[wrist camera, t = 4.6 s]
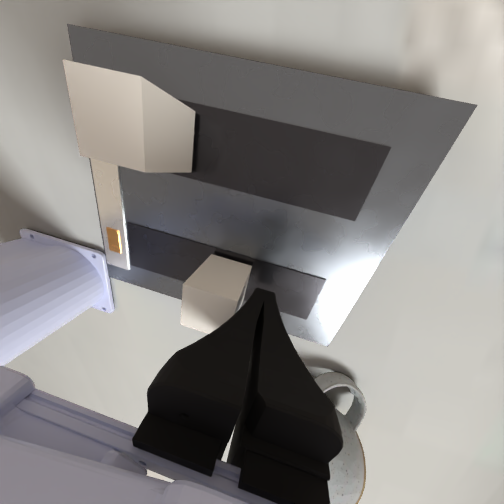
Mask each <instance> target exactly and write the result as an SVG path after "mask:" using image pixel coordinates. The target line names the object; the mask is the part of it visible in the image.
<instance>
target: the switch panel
mask: <svg viewBox="0 0 504 504" xmlns="http://www.w3.org/2000/svg"><path fill="white" fill-rule="evenodd" d="M67 26H68V32H69V38H70V44H71V50H72V56H73V62H77V63H82V64H87V65H91V66H96V67H100V68H105V69H110V70H114V71H119V72H124V73H128V74H133V75H137V76H142V77H143V78H145V79H146V80H148V81H149V82H151V83H152V84H154V85H155V86H157V87H159V88H160V89H162V90H163V91H165V92H166V93H168V94H169V95H171V96H172V97H174V98H176V99H177V100H179V101H180V102H182V103H183V104H185V105H186V106H188V107H189V108H191V109H193V110H194V111H195V124H194V140H193V156H192V172H182V173H145V172H141V171H137V170H134V169H130V168H126V167H122V166H118V165H115V164H111V163H107V162H103V161H99V160H96V159H92V158H89V160H90V166H91V172H92V178H93V184H94V190H95V196H96V202H97V208H98V215H99V221H100V227H101V233H102V239H103V245H104V251H105V257H106V263H107V269H108V276H109V277H112V278H115V279H118V280H121V281H124V282H128V283H131V284H134V285H137V286H140V287H143V288H146V289H149V290H152V291H156V292H159V293H162V294H165V295H168V296H171V297H174V298H177V299H181V300H182V289H183V283H184V282H185V281H186V280H187V279H188V278H189V277H190V276H191V275H192V274H193V273H194V272H195V271H196V270H197V269H198V268H199V267H200V266H201V265H202V264H203V263H204V261H205V260H206V259H207V258H208V257H209V256H210V255H211V254H213V255H216V256H220V257H223V258H226V259H230V260H233V261H237V262H240V263H243V264H247V265H250V266H252V268H251V272H250V276H249V280H248V284H247V288H246V292H245V295H244V299H243V302H242V305H241V307H242V306H243V305H244V304H245V303H246V301H247V300H248V299H249V298H250V296H251V295H252V293H253V292H254V290H255V288H257V287H258V288H261V289H264V290H268V291H271V292H274V293H275V295H276V301H277V305H278V309H279V312H280V315H281V318H282V321H283V324H284V326H285V329H286V331H287V333H288V334H290V335H293V336H296V337H299V338H302V339H306V340H309V341H312V342H315V343H318V344H321V345H324V346H327V347H328V345H329V344H330V342H331V341H332V339H333V337H334V336H335V334H336V333H337V331H338V329H339V328H340V326H341V324H342V323H343V321H344V320H345V318H346V316H347V315H348V313H349V312H350V310H351V308H352V307H353V305H354V303H355V302H356V300H357V299H358V297H359V295H360V294H361V292H362V291H363V289H364V287H365V286H366V284H367V282H368V281H369V279H370V278H371V276H372V274H373V273H374V271H375V270H376V268H377V266H378V265H379V263H380V262H381V260H382V258H383V257H384V255H385V253H386V252H387V250H388V249H389V247H390V245H391V244H392V242H393V241H394V239H395V237H396V236H397V234H398V232H399V231H400V229H401V228H402V226H403V224H404V223H405V221H406V220H407V218H408V216H409V215H410V213H411V211H412V210H413V208H414V207H415V205H416V203H417V202H418V200H419V199H420V197H421V195H422V194H423V192H424V191H425V189H426V187H427V186H428V184H429V182H430V181H431V179H432V178H433V176H434V174H435V173H436V171H437V170H438V168H439V166H440V165H441V163H442V161H443V160H444V158H445V157H446V155H447V153H448V152H449V150H450V149H451V147H452V145H453V144H454V142H455V140H456V139H457V137H458V136H459V134H460V132H461V131H462V129H463V128H464V126H465V124H466V123H467V121H468V119H469V118H470V116H471V115H472V113H473V111H474V110H475V108H476V107H477V105H474V104H469V103H464V102H459V101H454V100H449V99H444V98H439V97H434V96H429V95H424V94H419V93H414V92H409V91H404V90H399V89H394V88H389V87H384V86H378V85H373V84H368V83H363V82H358V81H353V80H348V79H343V78H338V77H333V76H328V75H323V74H318V73H313V72H308V71H303V70H298V69H293V68H288V67H283V66H277V65H272V64H267V63H262V62H257V61H252V60H247V59H242V58H237V57H232V56H227V55H222V54H217V53H212V52H207V51H202V50H197V49H192V48H187V47H181V46H176V45H171V44H166V43H161V42H156V41H151V40H146V39H141V38H136V37H131V36H126V35H121V34H116V33H111V32H106V31H101V30H96V29H91V28H86V27H80V26H75V25H70V24H67ZM241 307H240V308H241Z"/></svg>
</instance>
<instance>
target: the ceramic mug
mask: <svg viewBox="0 0 504 504" xmlns="http://www.w3.org/2000/svg"><path fill="white" fill-rule="evenodd" d="M314 380H315V382H316V383H317V384H318V386H319V387H320V388H321V390H322V391H323V392H324V393H325V392H326V391H328V390H330V389H332V388H335V387H340V386H347V387H348V388H349V390H350V392H351V393H352V394H354V400H353V402H352V406H351V407H350V409H349V410H348V412H347V414H346V415H343V414H342V413H340V412H339V411H338V410H337V409H335V410H336V413H337V417H338V420H339V424H340V427H341V432H342V437H343V448H342V450H341V451H340V453H339V454H338V455H337V456H336V457H335V458H334V459H332V460H331V461H330V462H329V469H330V480H329V481H328V489H329V498H330V503H331V504H358V502H359V500H360V499H361V496H362V494H363V491H364V488H365V480H366V466H365V457H364V451H363V448H362V444H361V442H360V439H359V437H358V434H357V432H356V430H357V428H358V427H359V426H360V424H361V422H362V421H363V419H364V416H365V413H366V402H365V398H364V396H363V394H362V392H361V391H360V390H359V388H358V387H357V386H356V385H355V383H354V382H353V381H352V380H351V379H350V378H349V377H347V376H346V375H344V374H342V373H339V372H328V373H324V374H321V375H319V376H318V377H316V378H315V379H314Z"/></svg>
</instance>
